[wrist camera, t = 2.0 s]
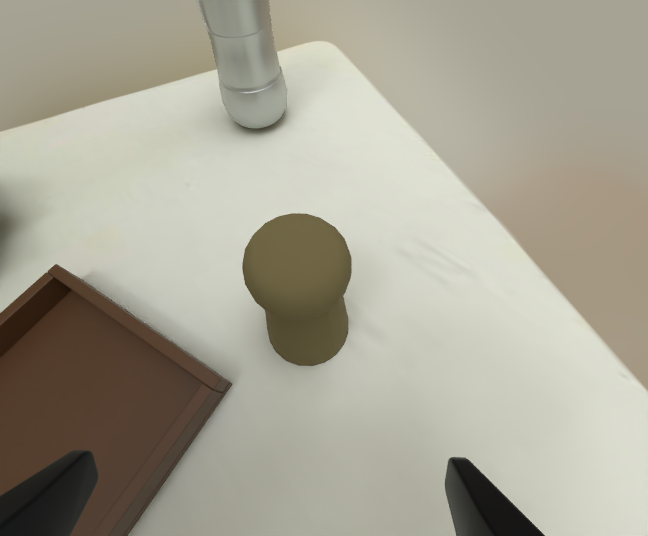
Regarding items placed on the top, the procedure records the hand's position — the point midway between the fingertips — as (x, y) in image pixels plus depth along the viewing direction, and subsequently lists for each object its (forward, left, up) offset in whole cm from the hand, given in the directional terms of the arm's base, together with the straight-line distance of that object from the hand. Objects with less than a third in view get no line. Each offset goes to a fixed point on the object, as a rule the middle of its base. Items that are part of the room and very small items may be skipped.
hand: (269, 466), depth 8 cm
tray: (-7, +14, -13) cm, 21 cm away
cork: (+7, +4, -14) cm, 16 cm away
